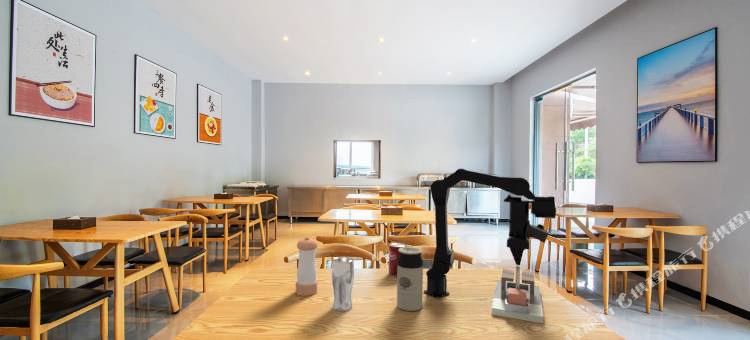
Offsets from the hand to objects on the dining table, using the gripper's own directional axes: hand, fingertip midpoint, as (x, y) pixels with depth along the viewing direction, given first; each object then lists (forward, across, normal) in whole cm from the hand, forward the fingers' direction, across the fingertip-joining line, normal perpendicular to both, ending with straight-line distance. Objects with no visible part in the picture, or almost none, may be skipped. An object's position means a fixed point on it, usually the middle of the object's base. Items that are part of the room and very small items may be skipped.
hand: (518, 264), depth 109 cm
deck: (+13, +3, 0) cm, 13 cm away
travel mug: (+13, -16, +31) cm, 37 cm away
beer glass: (+13, -26, +50) cm, 58 cm away
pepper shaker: (+13, -20, +67) cm, 71 cm away
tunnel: (+11, +3, 0) cm, 11 cm away
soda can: (+13, +12, +46) cm, 49 cm away
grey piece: (+11, -7, 0) cm, 13 cm away
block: (+11, -8, 0) cm, 13 cm away
